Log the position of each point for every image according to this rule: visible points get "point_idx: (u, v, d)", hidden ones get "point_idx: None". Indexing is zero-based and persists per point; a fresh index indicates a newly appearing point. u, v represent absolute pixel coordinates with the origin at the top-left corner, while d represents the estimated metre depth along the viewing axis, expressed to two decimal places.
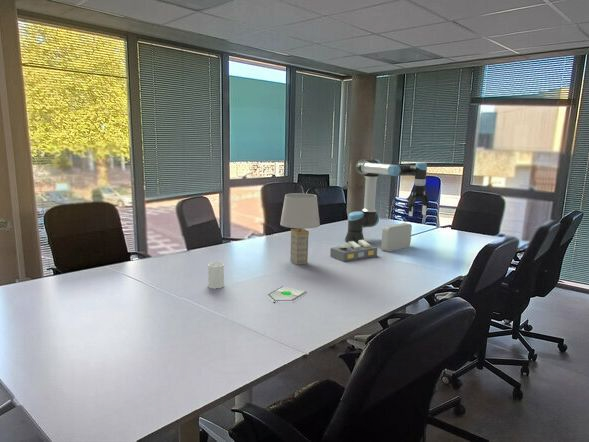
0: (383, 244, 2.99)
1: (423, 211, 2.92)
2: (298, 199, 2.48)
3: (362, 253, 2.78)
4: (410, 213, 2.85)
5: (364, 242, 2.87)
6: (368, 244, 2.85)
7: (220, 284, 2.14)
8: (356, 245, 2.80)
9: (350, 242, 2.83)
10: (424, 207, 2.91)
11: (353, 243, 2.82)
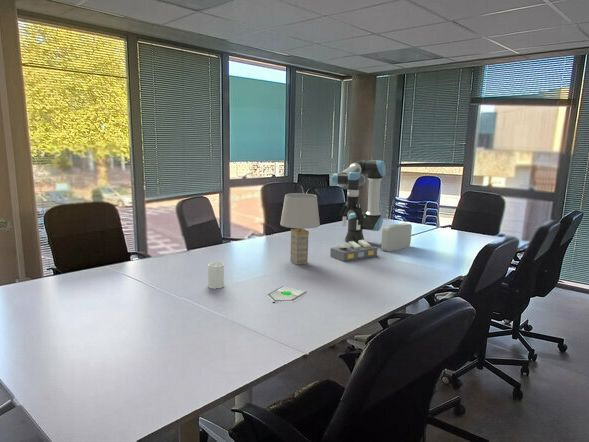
0: (383, 244, 2.99)
1: None
2: (298, 199, 2.48)
3: (362, 253, 2.78)
4: None
5: (364, 242, 2.87)
6: (368, 244, 2.85)
7: (220, 284, 2.14)
8: (356, 245, 2.80)
9: (350, 242, 2.83)
10: None
11: (353, 243, 2.82)
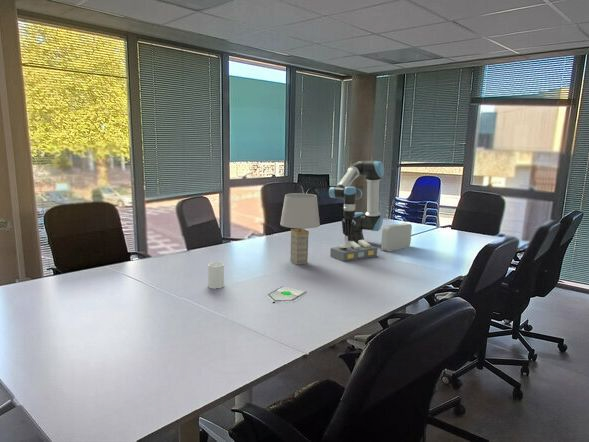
0: (383, 244, 2.99)
1: None
2: (298, 199, 2.48)
3: (362, 253, 2.78)
4: None
5: (364, 242, 2.87)
6: (368, 244, 2.85)
7: (220, 284, 2.14)
8: (356, 245, 2.80)
9: (350, 242, 2.83)
10: None
11: (353, 243, 2.82)
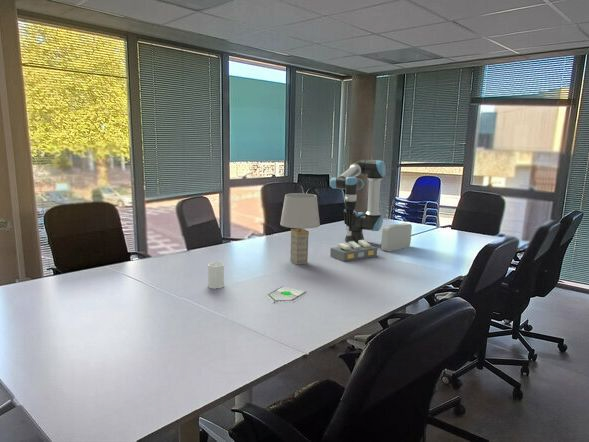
0: (383, 244, 2.99)
1: None
2: (298, 199, 2.48)
3: (362, 253, 2.78)
4: None
5: (364, 242, 2.87)
6: (368, 244, 2.85)
7: (220, 284, 2.14)
8: (356, 245, 2.80)
9: (350, 242, 2.83)
10: None
11: (353, 243, 2.82)
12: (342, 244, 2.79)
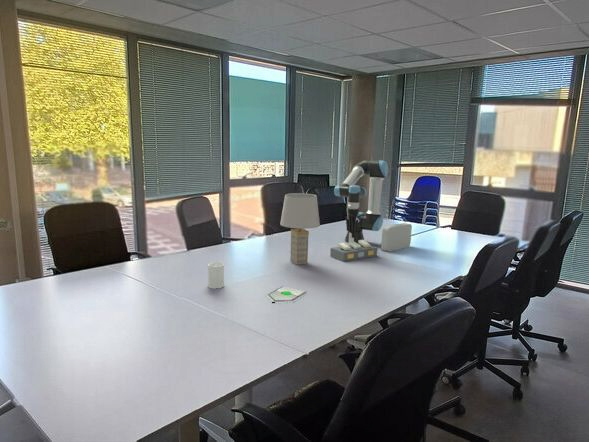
0: (383, 244, 2.99)
1: None
2: (298, 199, 2.48)
3: (362, 253, 2.78)
4: None
5: (364, 242, 2.87)
6: (368, 244, 2.85)
7: (220, 284, 2.14)
8: (356, 245, 2.80)
9: (350, 242, 2.83)
10: None
11: (353, 243, 2.82)
12: (342, 244, 2.79)
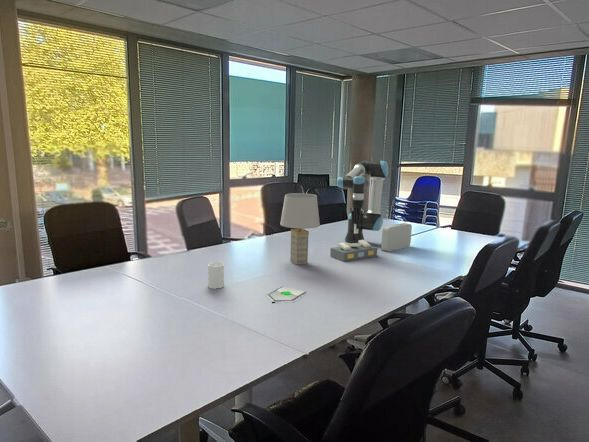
0: (383, 244, 2.99)
1: None
2: (298, 199, 2.48)
3: (362, 253, 2.78)
4: None
5: (364, 242, 2.87)
6: (368, 244, 2.85)
7: (220, 284, 2.14)
8: (356, 243, 2.80)
9: (350, 244, 2.84)
10: None
11: (353, 243, 2.83)
12: (342, 244, 2.79)
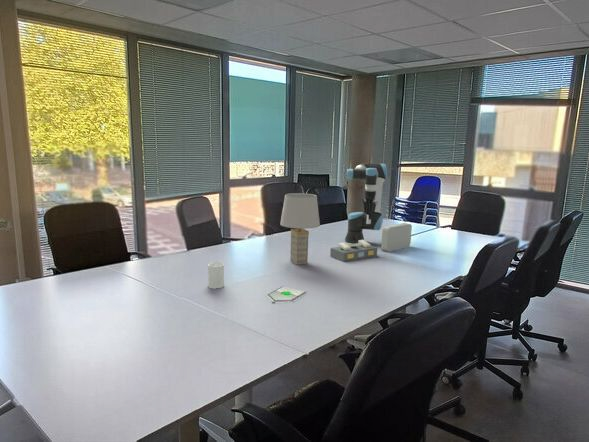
0: (383, 244, 2.99)
1: None
2: (298, 199, 2.48)
3: (362, 253, 2.78)
4: None
5: (364, 242, 2.87)
6: (368, 244, 2.85)
7: (220, 284, 2.14)
8: (356, 243, 2.80)
9: (349, 244, 2.84)
10: None
11: (353, 244, 2.83)
12: (342, 244, 2.79)
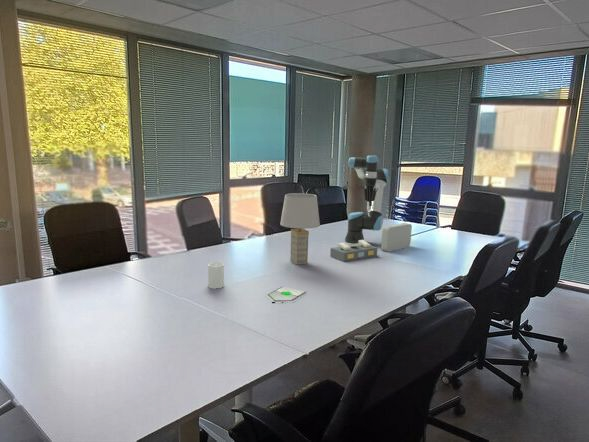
0: (383, 244, 2.99)
1: None
2: (298, 199, 2.48)
3: (362, 253, 2.78)
4: None
5: (364, 242, 2.87)
6: (368, 244, 2.85)
7: (220, 284, 2.14)
8: None
9: (350, 244, 2.84)
10: None
11: None
12: (342, 244, 2.79)
